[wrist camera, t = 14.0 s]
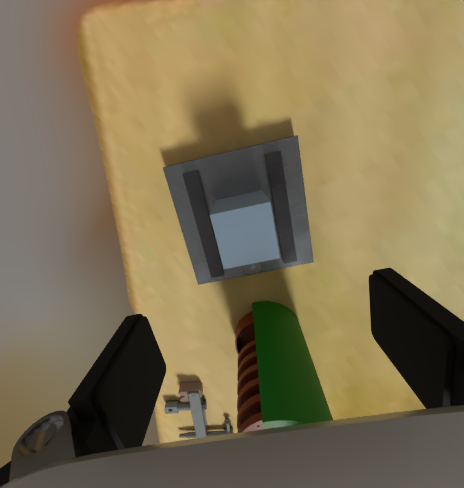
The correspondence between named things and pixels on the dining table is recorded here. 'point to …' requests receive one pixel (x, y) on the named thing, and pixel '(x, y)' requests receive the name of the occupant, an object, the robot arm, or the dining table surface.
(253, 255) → the slate grey block
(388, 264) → the dining table surface
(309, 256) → the mounting bracket
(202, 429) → the clamp
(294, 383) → the motor
